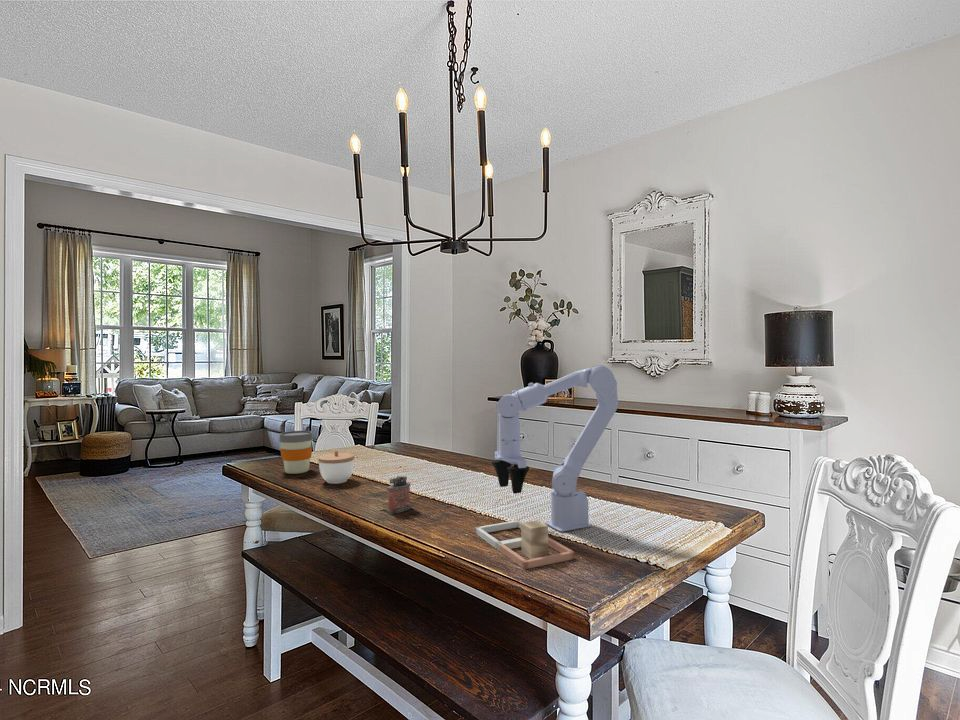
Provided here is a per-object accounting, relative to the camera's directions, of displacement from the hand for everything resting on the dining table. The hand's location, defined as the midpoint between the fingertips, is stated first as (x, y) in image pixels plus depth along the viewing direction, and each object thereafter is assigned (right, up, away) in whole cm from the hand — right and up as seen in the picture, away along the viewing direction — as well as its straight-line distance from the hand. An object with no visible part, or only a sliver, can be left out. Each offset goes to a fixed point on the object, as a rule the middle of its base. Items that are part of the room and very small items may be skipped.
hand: (510, 489), depth 150 cm
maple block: (+4, -10, -21) cm, 24 cm away
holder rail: (+2, -10, -15) cm, 18 cm away
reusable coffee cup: (-80, -9, +70) cm, 107 cm away
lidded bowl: (-60, -9, +52) cm, 80 cm away
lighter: (-32, -10, +15) cm, 37 cm away
